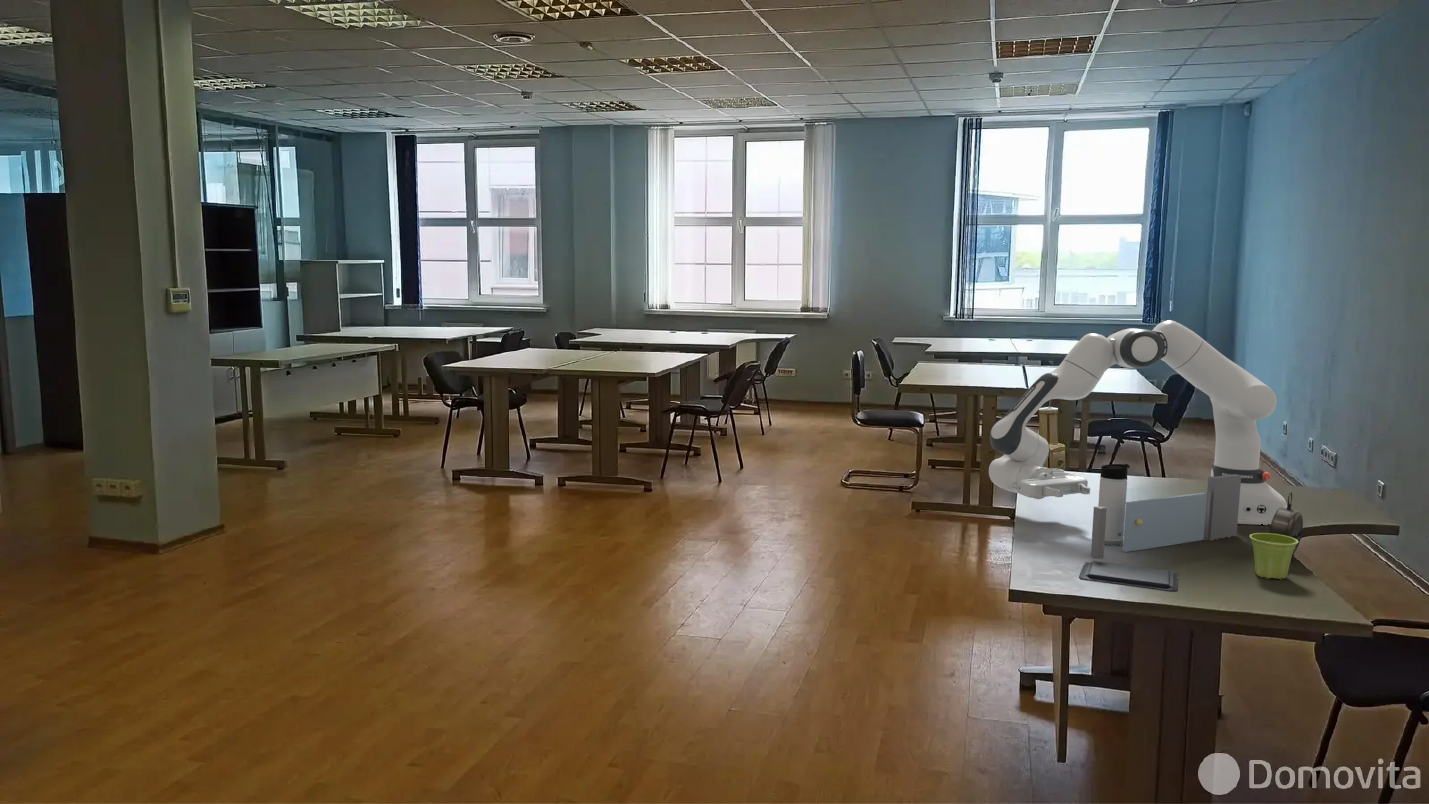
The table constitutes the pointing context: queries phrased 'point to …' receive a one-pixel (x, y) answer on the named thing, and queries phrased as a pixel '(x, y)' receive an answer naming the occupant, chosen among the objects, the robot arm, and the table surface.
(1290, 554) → the plant pot
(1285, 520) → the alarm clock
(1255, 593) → the table surface
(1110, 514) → the travel mug
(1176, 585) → the dark grey book
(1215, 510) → the pair of grey slabs
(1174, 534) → the door
